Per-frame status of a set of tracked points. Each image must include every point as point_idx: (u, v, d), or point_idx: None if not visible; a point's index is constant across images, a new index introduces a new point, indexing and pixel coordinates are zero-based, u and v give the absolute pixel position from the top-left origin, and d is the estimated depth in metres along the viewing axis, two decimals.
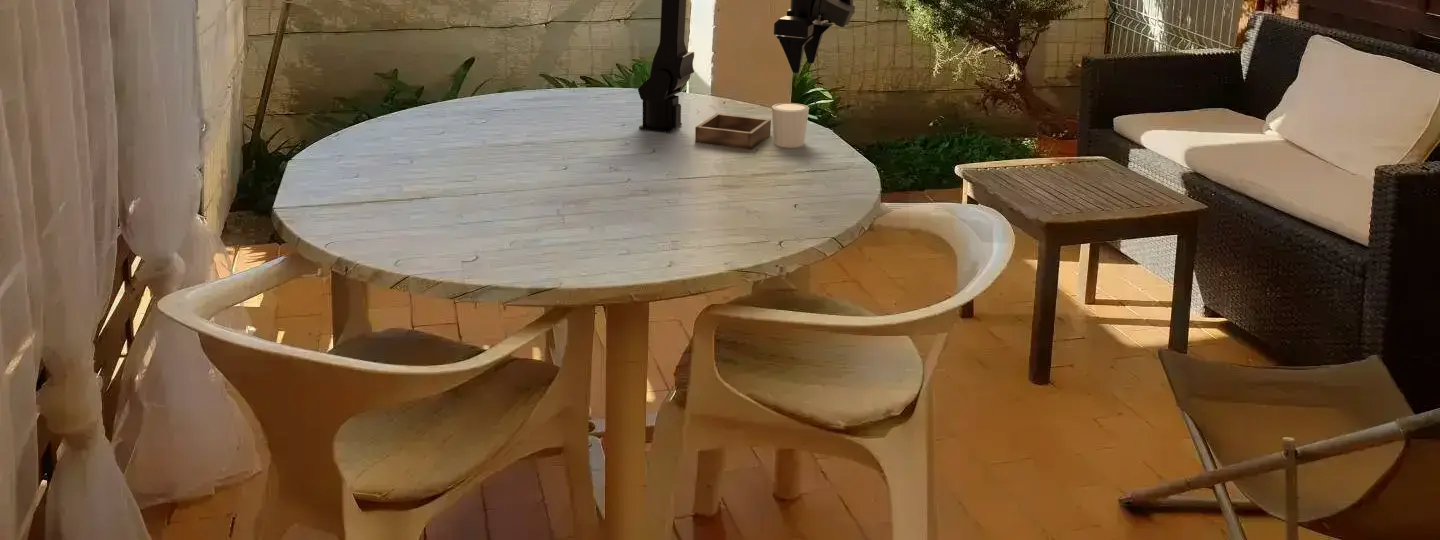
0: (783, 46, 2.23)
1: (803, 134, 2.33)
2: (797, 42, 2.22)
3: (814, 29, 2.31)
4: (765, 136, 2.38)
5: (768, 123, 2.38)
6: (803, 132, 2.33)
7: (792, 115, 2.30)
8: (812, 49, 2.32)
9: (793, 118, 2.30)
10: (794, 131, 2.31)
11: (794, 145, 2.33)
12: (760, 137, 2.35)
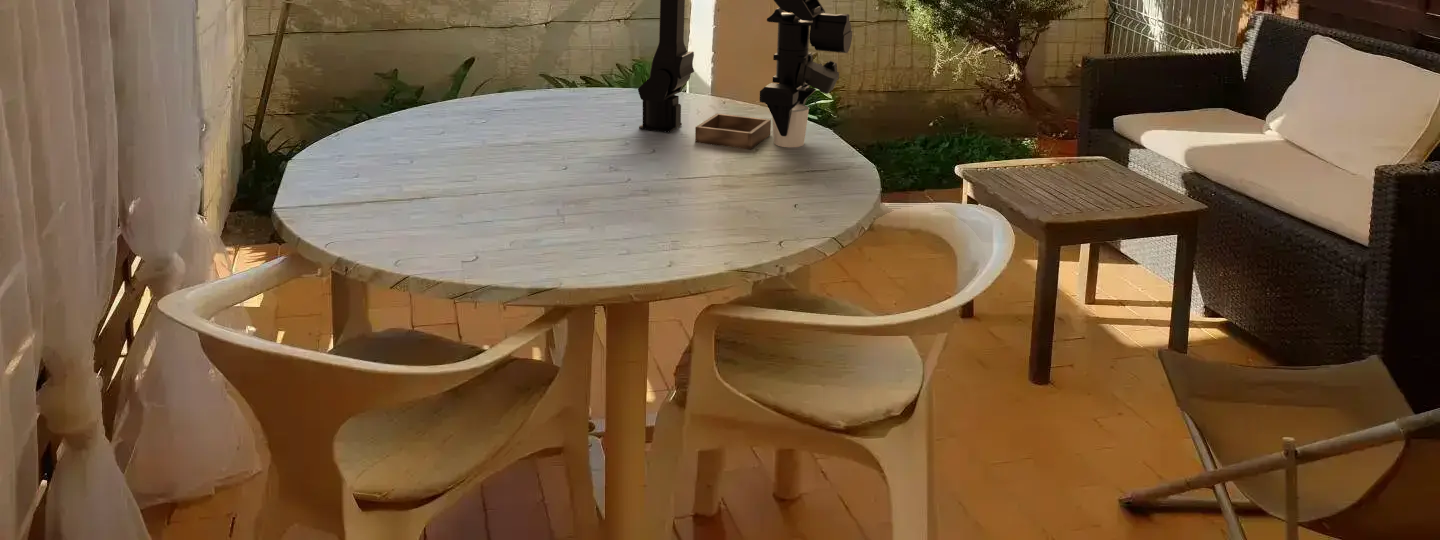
0: (771, 111, 2.29)
1: (803, 134, 2.33)
2: (785, 107, 2.28)
3: (798, 94, 2.35)
4: (765, 136, 2.38)
5: (768, 123, 2.38)
6: (803, 132, 2.33)
7: (792, 115, 2.30)
8: None
9: (793, 118, 2.30)
10: (794, 131, 2.31)
11: (794, 144, 2.32)
12: (760, 137, 2.35)
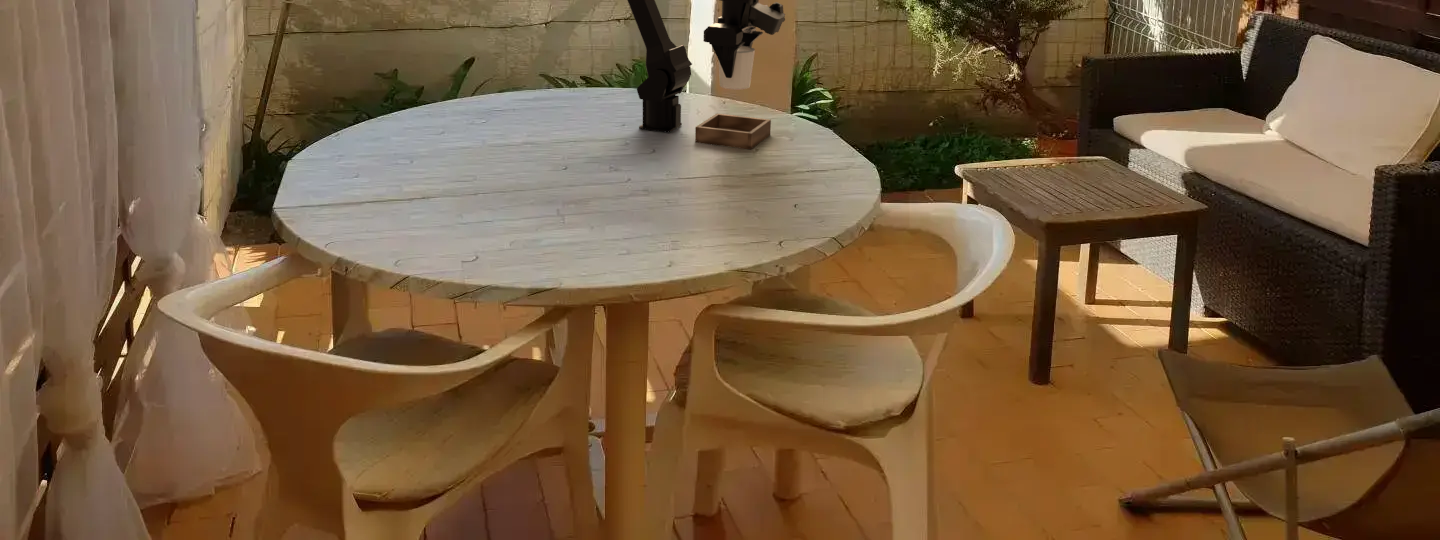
0: (716, 51, 2.27)
1: (749, 76, 2.31)
2: (729, 48, 2.27)
3: (744, 37, 2.34)
4: (765, 136, 2.38)
5: (768, 123, 2.38)
6: (749, 74, 2.31)
7: (737, 56, 2.28)
8: None
9: (738, 59, 2.29)
10: (739, 73, 2.30)
11: (739, 86, 2.31)
12: (760, 137, 2.35)
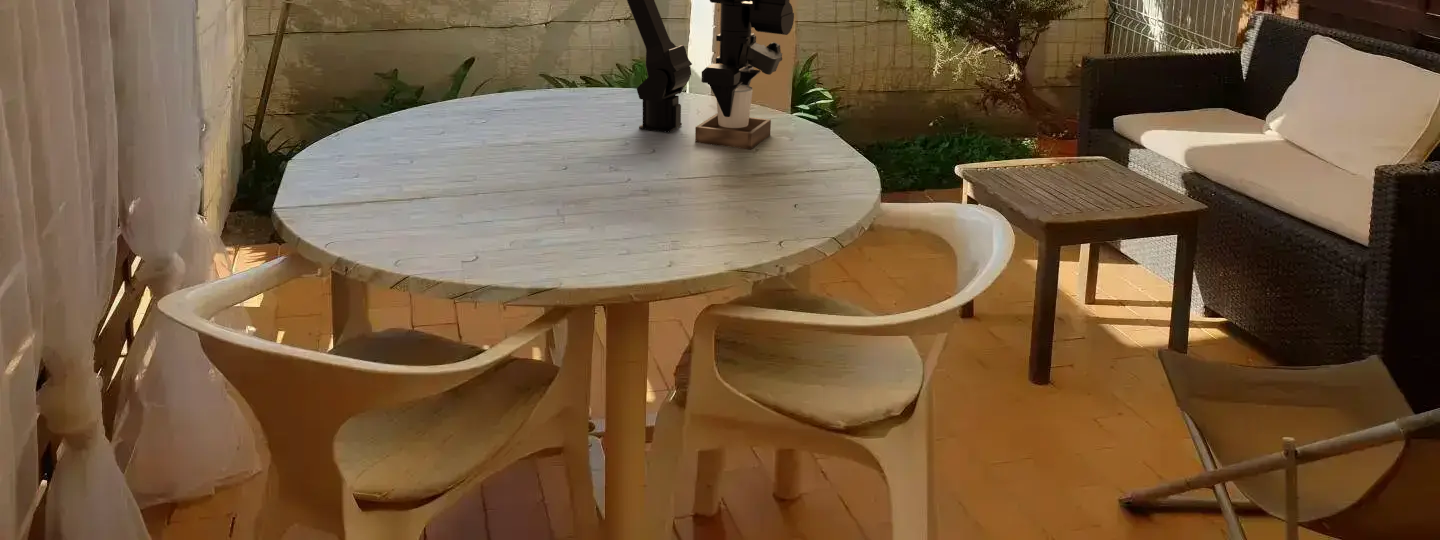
0: (714, 91, 2.30)
1: (747, 115, 2.34)
2: (727, 88, 2.29)
3: (742, 76, 2.36)
4: (765, 136, 2.38)
5: (768, 123, 2.38)
6: (747, 113, 2.34)
7: (735, 95, 2.31)
8: None
9: (736, 98, 2.31)
10: (737, 112, 2.32)
11: (737, 125, 2.34)
12: (760, 137, 2.35)
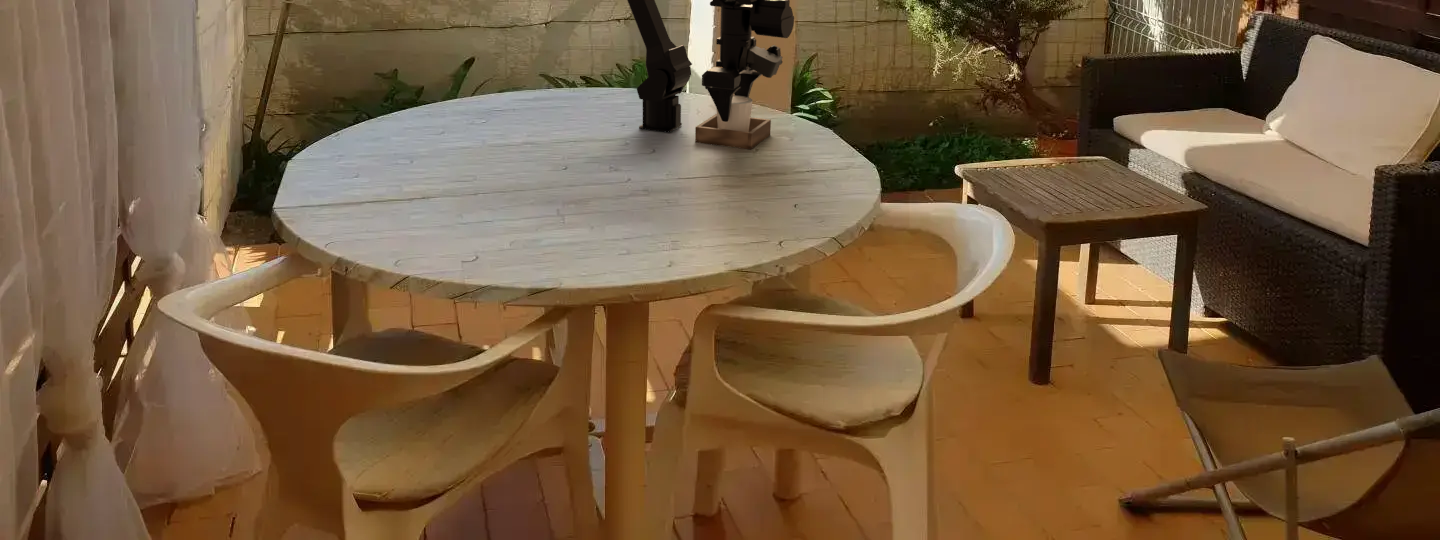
0: (712, 96, 2.29)
1: (746, 126, 2.35)
2: (725, 92, 2.29)
3: (744, 78, 2.38)
4: (765, 136, 2.38)
5: (768, 123, 2.38)
6: (746, 124, 2.35)
7: (735, 107, 2.32)
8: None
9: (736, 110, 2.32)
10: (737, 123, 2.33)
11: None
12: (760, 137, 2.35)
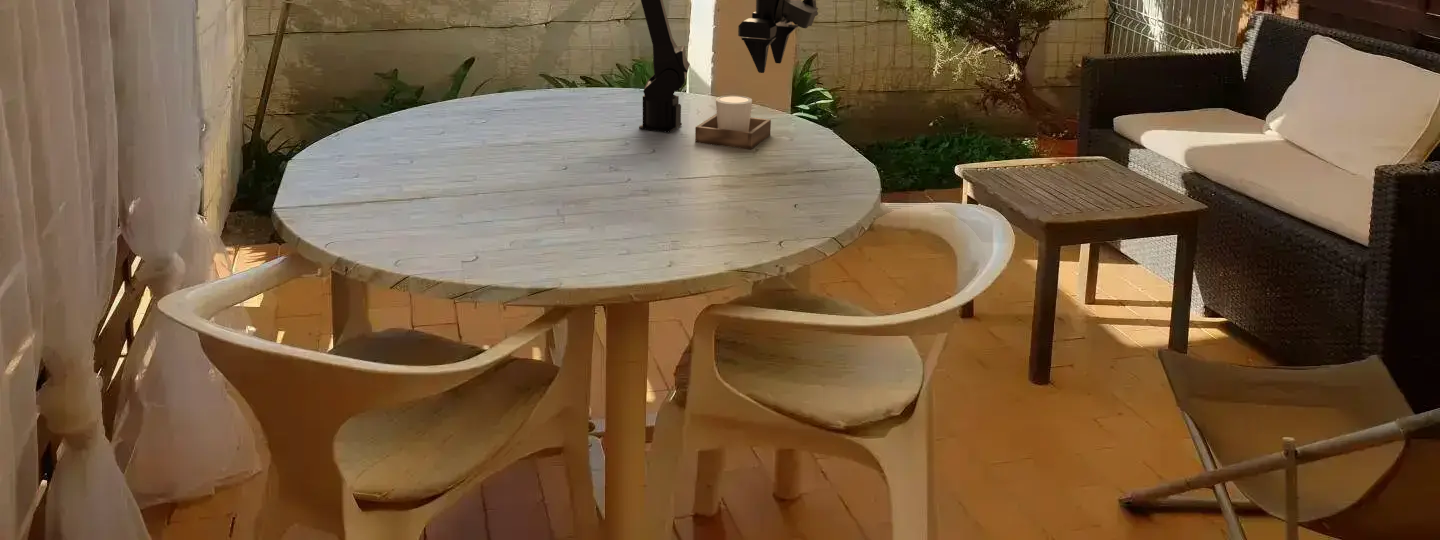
0: (748, 47, 2.32)
1: (746, 126, 2.35)
2: (761, 43, 2.31)
3: (780, 30, 2.40)
4: (765, 136, 2.38)
5: (768, 123, 2.38)
6: (746, 124, 2.35)
7: (735, 107, 2.32)
8: (778, 50, 2.41)
9: (736, 110, 2.32)
10: (737, 123, 2.33)
11: None
12: (760, 137, 2.35)
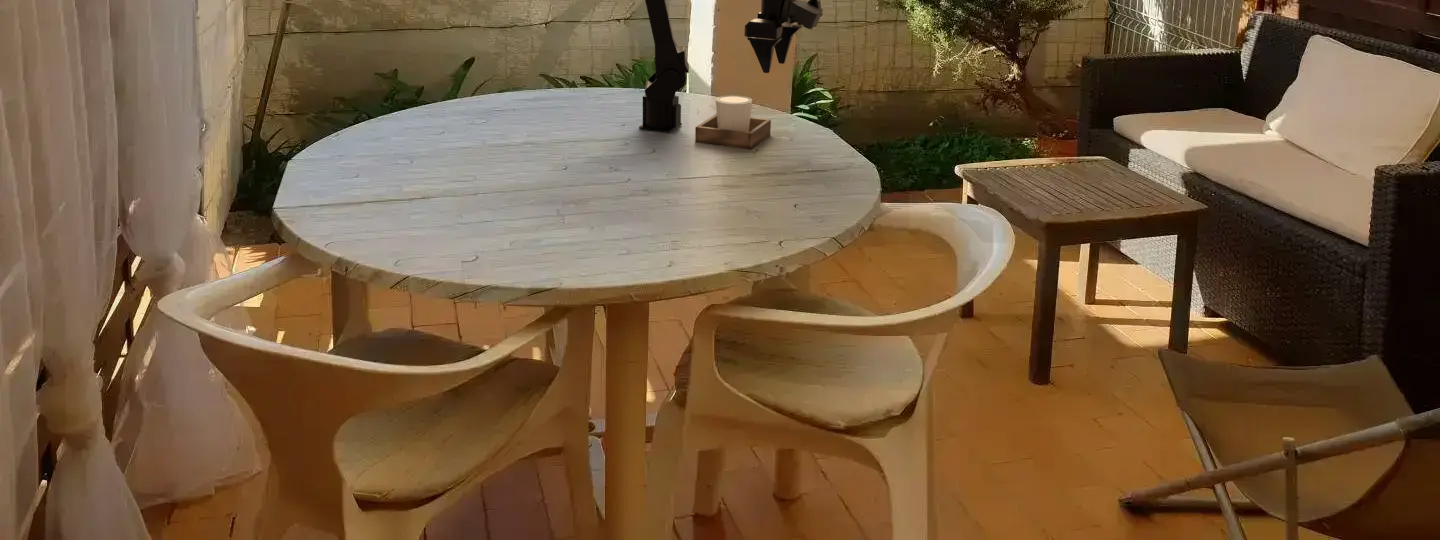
0: (754, 47, 2.33)
1: (746, 126, 2.35)
2: (767, 43, 2.32)
3: (784, 31, 2.42)
4: (765, 136, 2.38)
5: (768, 123, 2.38)
6: (746, 124, 2.35)
7: (735, 107, 2.32)
8: (782, 50, 2.43)
9: (736, 110, 2.32)
10: (737, 123, 2.33)
11: None
12: (760, 137, 2.35)
